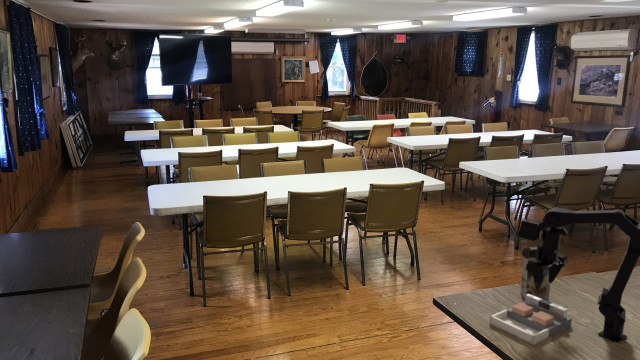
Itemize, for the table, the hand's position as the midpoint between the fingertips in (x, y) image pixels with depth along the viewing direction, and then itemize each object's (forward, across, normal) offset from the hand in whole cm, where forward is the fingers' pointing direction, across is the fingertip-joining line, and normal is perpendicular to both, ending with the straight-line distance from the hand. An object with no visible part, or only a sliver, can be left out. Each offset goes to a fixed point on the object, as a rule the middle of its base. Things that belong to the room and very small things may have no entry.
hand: (543, 285), depth 176 cm
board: (+13, +2, +1) cm, 13 cm away
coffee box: (+14, -17, -11) cm, 24 cm away
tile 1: (+10, +5, -4) cm, 12 cm away
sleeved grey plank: (+10, -2, +1) cm, 10 cm away
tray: (+13, +13, -1) cm, 18 cm away
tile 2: (+10, +6, +4) cm, 12 cm away
